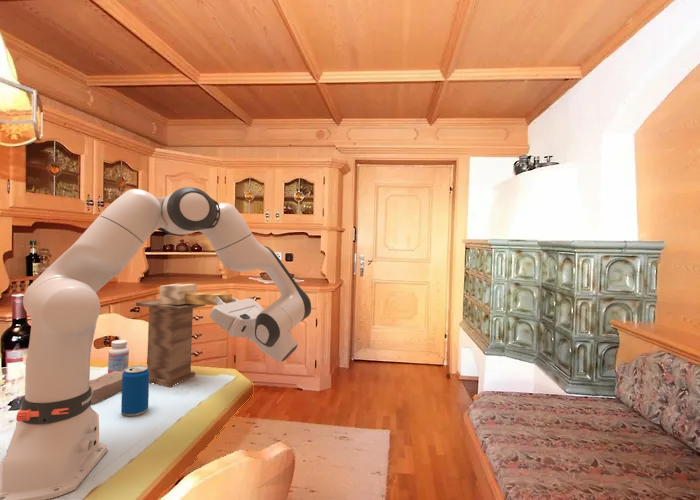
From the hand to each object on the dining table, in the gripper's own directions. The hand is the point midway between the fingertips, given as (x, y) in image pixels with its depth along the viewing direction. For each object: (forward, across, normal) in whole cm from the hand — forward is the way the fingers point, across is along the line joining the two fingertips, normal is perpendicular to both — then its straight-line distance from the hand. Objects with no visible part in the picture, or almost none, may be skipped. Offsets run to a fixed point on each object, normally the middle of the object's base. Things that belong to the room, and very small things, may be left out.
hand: (220, 297), depth 124 cm
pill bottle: (+19, +4, +45) cm, 49 cm away
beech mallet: (+6, 0, +7) cm, 9 cm away
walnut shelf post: (+2, 0, +35) cm, 35 cm away
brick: (+10, +17, +40) cm, 45 cm away
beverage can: (-7, +23, +30) cm, 39 cm away
